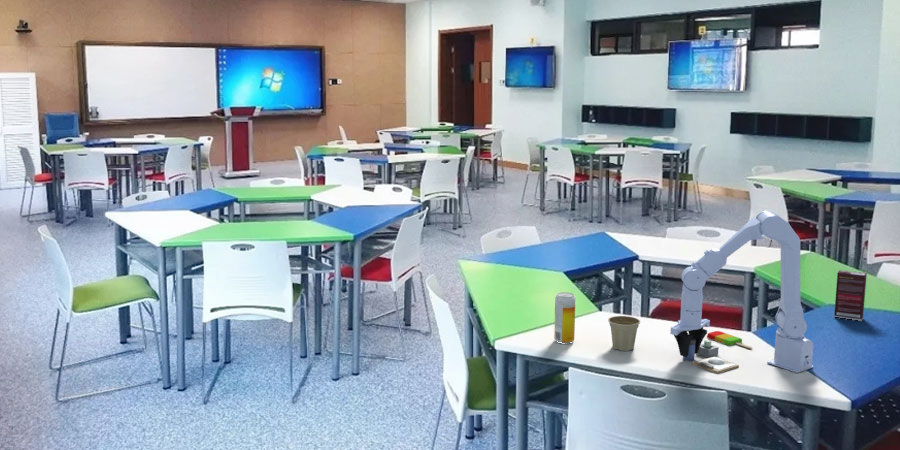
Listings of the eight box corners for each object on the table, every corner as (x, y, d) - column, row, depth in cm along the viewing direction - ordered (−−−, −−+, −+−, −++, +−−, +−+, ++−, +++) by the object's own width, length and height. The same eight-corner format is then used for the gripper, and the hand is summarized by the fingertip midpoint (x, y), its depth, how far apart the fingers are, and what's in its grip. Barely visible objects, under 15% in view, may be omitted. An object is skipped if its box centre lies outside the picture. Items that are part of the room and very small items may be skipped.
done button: (712, 348, 225) (712, 341, 224) (707, 349, 224) (708, 342, 223) (706, 346, 226) (707, 339, 226) (702, 347, 225) (702, 340, 225)
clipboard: (738, 367, 215) (738, 363, 215) (717, 373, 210) (718, 369, 210) (713, 358, 222) (713, 354, 222) (692, 364, 217) (692, 360, 217)
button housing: (718, 355, 225) (718, 347, 224) (708, 357, 222) (708, 350, 222) (705, 350, 228) (706, 343, 228) (695, 353, 226) (696, 345, 226)
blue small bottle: (697, 359, 221) (698, 339, 220) (689, 362, 219) (690, 342, 218) (687, 356, 224) (688, 336, 223) (679, 358, 222) (681, 338, 221)
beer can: (578, 341, 237) (579, 294, 234) (566, 346, 233) (568, 298, 230) (561, 337, 241) (562, 290, 238) (550, 341, 237) (551, 294, 234)
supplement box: (863, 318, 260) (867, 272, 257) (861, 322, 256) (866, 275, 253) (834, 314, 264) (838, 269, 261) (833, 317, 260) (837, 272, 257)
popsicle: (717, 335, 244) (717, 330, 243) (757, 349, 231) (758, 343, 230) (705, 338, 241) (705, 332, 240) (745, 353, 228) (745, 346, 228)
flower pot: (600, 345, 234) (601, 317, 232) (626, 341, 237) (627, 314, 236) (619, 354, 225) (620, 326, 224) (645, 350, 229) (646, 322, 227)
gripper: (696, 301, 226) (694, 345, 228) (663, 309, 218) (660, 355, 221) (716, 307, 220) (714, 352, 223) (682, 315, 212) (680, 362, 215)
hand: (688, 354), depth 221 cm, fingers open, 4 cm apart
